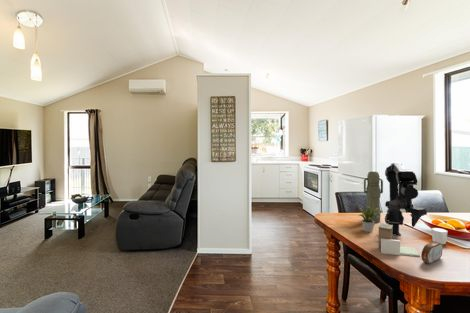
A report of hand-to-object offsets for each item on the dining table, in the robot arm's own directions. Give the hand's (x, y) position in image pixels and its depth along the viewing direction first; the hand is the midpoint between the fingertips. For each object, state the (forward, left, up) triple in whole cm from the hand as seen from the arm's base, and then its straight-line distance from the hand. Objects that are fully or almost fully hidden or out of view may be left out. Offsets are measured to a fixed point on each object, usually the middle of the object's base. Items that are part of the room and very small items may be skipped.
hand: (404, 223), depth 128 cm
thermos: (-47, -7, -14) cm, 50 cm away
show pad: (+4, 0, -13) cm, 14 cm away
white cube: (-15, +20, -14) cm, 29 cm away
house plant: (-23, -13, -14) cm, 30 cm away
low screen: (+8, -8, -13) cm, 18 cm away
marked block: (+3, -9, -13) cm, 16 cm away
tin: (+11, +8, -14) cm, 19 cm away
